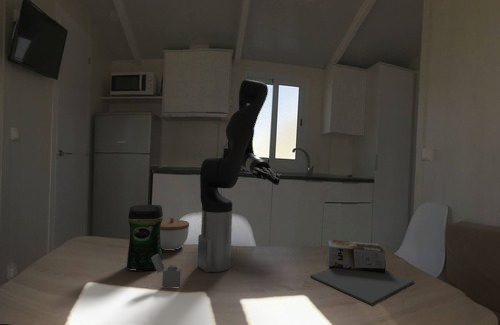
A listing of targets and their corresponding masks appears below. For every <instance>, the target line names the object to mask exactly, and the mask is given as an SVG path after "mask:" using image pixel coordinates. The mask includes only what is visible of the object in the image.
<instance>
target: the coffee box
mask: <svg viewBox="0 0 500 325" xmlns="http://www.w3.org/2000/svg"><path fill="white" fill-rule="evenodd" d="M327 264H328V267H332V268H334V267H340V268H348V269H357V270H365V271H373V272H381V273H385V271H386V270H387V269H386V265H387V264H386V252H385V250H384V249H383V248H382V247H381V245H380V244H379V243H370V242H369V243H368V242H358V241H348V240H347V241H346V240H335V239H327Z"/></svg>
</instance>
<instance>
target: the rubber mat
mask: <svg viewBox="0 0 500 325" xmlns="http://www.w3.org/2000/svg"><path fill="white" fill-rule="evenodd" d="M309 277H310V278H312V279H314V280H316V281H318V282H320V283H322V284H325V285H326V286H329V287H331V288H333V289H335V290H337V291H340V292H341V293H344V294H347V295H348V296H350V297H353V298H355V299H357V300H359V301H361V302H363V303H366V304H367V305H370V306H373V305H375V304H376V303H378V302H380V301H382V300H384V299H387V297H389V296H391V295H394V294H395V293H396V292H399V291H401V290H403V289H404V288H406V287H408V286H411V285H412V284H413V283H414V282H415V280H413V279H410V278H407V277H404V276H401V275H398V274H395V273H392V272H389V271H386V270H385V273H381V272H373V271H365V270H357V269H348V268H340V267H332V268H329V269H325V270H322V271H320V272H316V273H314V274H311V275H310V276H309Z"/></svg>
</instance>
